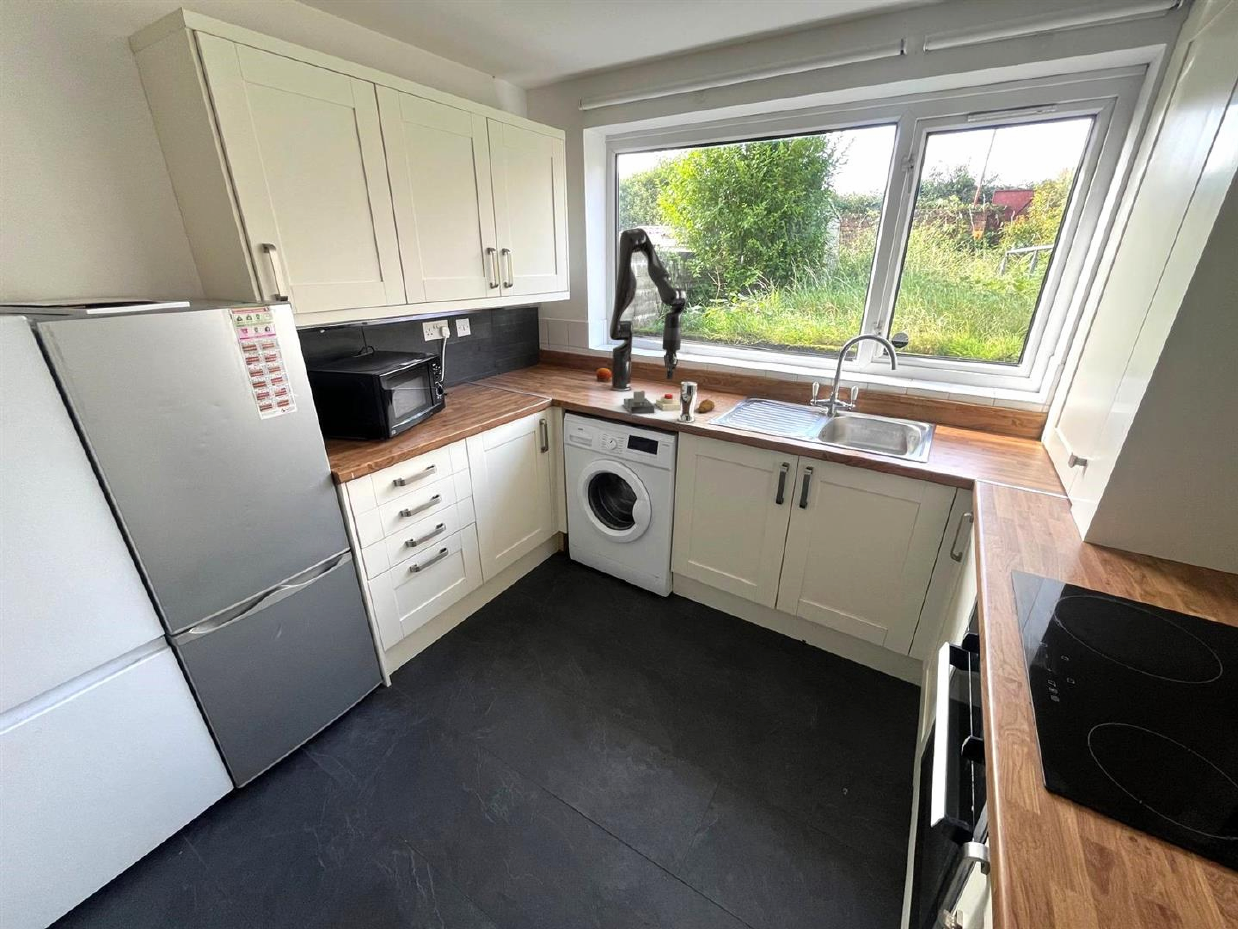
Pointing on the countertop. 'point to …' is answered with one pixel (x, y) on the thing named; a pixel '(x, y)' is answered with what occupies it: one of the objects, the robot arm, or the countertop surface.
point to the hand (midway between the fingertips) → (669, 379)
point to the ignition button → (668, 396)
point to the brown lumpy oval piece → (706, 406)
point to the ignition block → (668, 404)
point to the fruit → (603, 374)
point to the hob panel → (639, 406)
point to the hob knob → (638, 396)
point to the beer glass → (687, 401)
